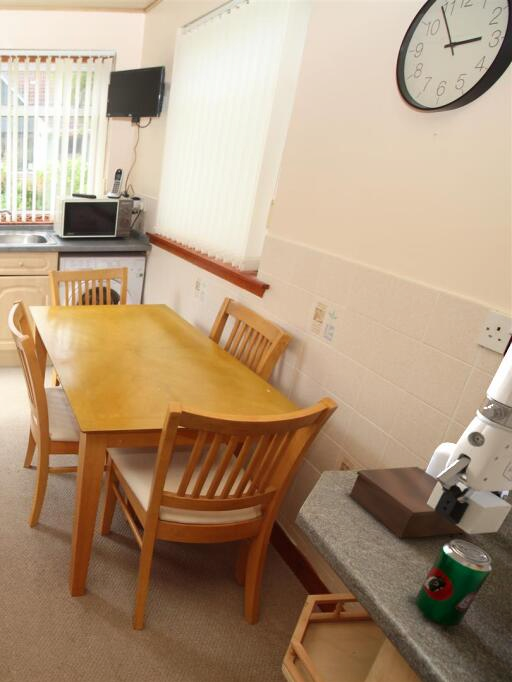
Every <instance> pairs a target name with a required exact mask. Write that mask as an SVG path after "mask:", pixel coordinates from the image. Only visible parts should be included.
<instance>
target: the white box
mask: <svg viewBox="0 0 512 682" xmlns="http://www.w3.org/2000/svg"><path fill="white" fill-rule="evenodd" d="M463 478H465V479H466V477H463ZM457 486H458V487H460V489H461V491H463V490H464V489H465V488H466V487H467V486H465V485H464V484H462V483H461V482H458V484H457ZM442 488H443V487H442V485H441V483H440V482H439V481H438V483H437V485H436V487H435V489H434V491H433V493H432V494H431V496H430V498H429V500H428V502H427V504H428V505H429V506H431V507H432V508H434V509H435V507H436V505H437V503H438V501H439V499H440V497H441V496H442V494H443V492H444V491H442ZM466 502H467V503H468V504H469V505H468V507H467V509H466V511H465V513H464V515H463V516H462V518H461V520H460V522H459V523H458V524H456V525H457V526H459V527H460V528H461V529H463V530H464V531H463V532H465V533H467V534H468V535H475V534H476V535H478V534H489V533H498V531H499V530H500V528H501V526H502V524H503V522H504V521H505V519H506V518H507V516H508V514H509V513H510V511H511V509H512V504H511V503H509V502H507V501H506V500H503V499H501V498H499V497H498V496H496V495H494V494H493V493H491V492H478V491H475V492H474V493H473V494H472V495H471V496H470V498H469V499H468V500H467V501H466Z"/></svg>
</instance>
